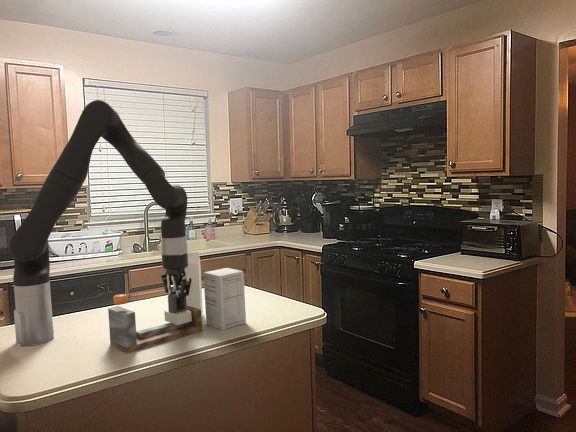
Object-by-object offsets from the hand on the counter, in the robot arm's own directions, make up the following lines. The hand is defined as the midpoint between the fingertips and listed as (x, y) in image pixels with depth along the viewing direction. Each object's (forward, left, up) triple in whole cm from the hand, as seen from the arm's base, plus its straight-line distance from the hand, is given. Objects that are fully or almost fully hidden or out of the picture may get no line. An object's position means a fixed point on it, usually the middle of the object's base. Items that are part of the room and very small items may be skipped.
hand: (177, 308), depth 142 cm
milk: (+11, +9, -7) cm, 16 cm away
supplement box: (+14, -5, -7) cm, 17 cm away
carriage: (0, 0, -4) cm, 4 cm away
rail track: (-7, 0, -7) cm, 10 cm away
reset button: (-18, 0, +5) cm, 18 cm away
